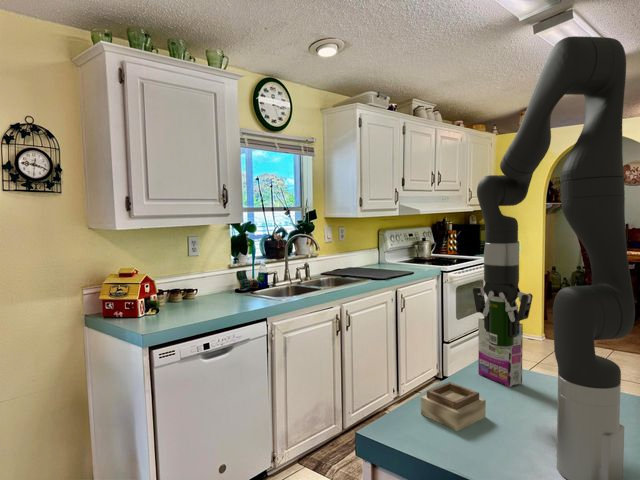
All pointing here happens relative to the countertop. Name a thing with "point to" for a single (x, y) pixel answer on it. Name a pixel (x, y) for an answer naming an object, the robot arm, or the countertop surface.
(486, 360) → the candy bar box
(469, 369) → the countertop surface
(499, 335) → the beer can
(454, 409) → the pedestal
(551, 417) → the countertop surface
